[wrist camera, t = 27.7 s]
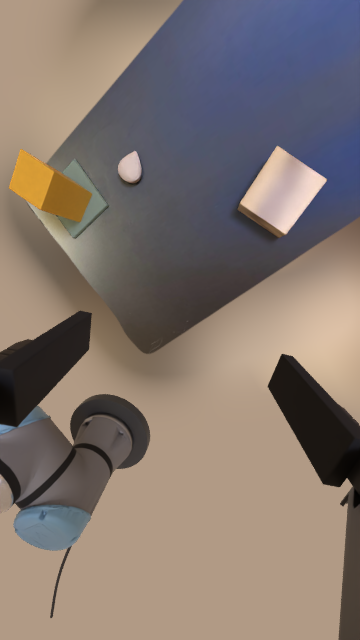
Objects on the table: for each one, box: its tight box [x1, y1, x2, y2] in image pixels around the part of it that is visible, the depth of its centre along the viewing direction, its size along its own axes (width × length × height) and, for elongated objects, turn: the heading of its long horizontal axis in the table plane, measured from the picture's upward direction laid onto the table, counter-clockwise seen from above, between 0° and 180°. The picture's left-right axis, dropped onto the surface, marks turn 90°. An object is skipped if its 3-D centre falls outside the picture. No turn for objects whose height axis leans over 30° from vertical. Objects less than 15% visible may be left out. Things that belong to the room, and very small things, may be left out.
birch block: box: [238, 146, 327, 238], centre depth 34 cm, size 9×9×4 cm
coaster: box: [56, 159, 109, 239], centre depth 42 cm, size 10×10×1 cm
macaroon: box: [118, 151, 142, 183], centre depth 38 cm, size 4×5×2 cm
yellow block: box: [9, 149, 92, 222], centre depth 36 cm, size 6×6×10 cm
